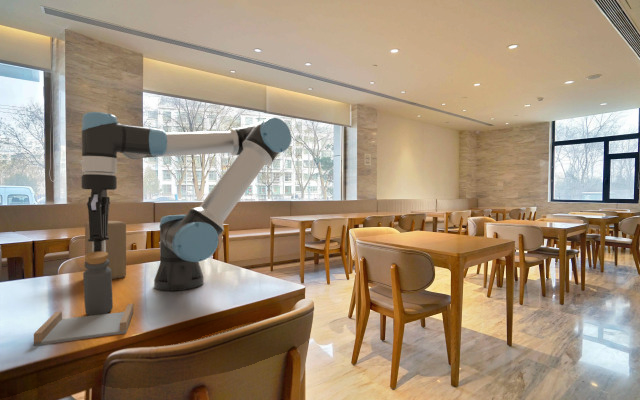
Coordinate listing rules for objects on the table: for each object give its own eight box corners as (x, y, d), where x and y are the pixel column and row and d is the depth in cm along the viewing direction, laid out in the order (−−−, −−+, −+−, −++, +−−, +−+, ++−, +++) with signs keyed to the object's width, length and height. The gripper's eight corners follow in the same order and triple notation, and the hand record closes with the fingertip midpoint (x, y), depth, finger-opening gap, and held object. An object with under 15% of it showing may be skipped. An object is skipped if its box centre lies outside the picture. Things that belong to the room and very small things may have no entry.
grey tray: (133, 313, 85) (133, 303, 85) (126, 333, 73) (126, 322, 73) (55, 322, 78) (55, 312, 78) (33, 345, 66) (33, 333, 66)
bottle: (82, 317, 81) (79, 259, 78) (88, 305, 87) (85, 250, 84) (110, 314, 84) (108, 258, 81) (114, 302, 89) (112, 249, 86)
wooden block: (114, 273, 126) (114, 220, 126) (127, 277, 120) (127, 221, 120) (84, 278, 118) (83, 222, 117) (96, 283, 112) (95, 223, 112)
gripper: (88, 175, 90) (88, 261, 91) (74, 172, 78) (73, 272, 79) (120, 176, 93) (120, 260, 94) (111, 173, 81) (110, 270, 81)
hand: (98, 265), depth 86 cm, fingers closed
